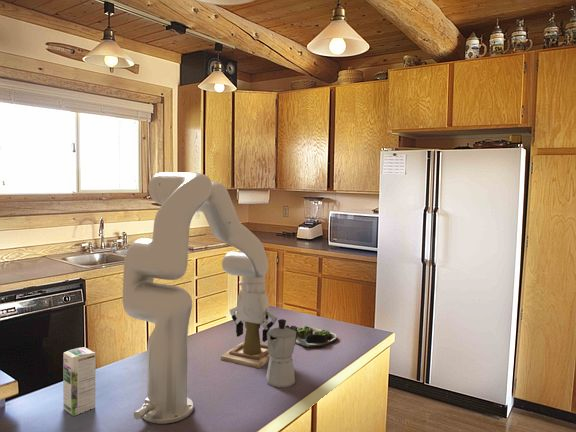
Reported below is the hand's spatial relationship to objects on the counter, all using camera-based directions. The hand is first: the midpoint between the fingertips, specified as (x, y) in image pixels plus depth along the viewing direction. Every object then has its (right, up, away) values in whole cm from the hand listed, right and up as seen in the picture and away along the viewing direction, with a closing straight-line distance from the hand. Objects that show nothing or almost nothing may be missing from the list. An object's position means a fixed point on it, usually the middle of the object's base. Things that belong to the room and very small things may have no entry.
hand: (252, 337), depth 148 cm
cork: (0, -5, 0) cm, 5 cm away
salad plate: (+20, -6, +16) cm, 27 cm away
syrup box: (-40, -8, -36) cm, 55 cm away
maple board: (0, -6, 0) cm, 6 cm away
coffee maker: (+10, -8, -17) cm, 21 cm away
